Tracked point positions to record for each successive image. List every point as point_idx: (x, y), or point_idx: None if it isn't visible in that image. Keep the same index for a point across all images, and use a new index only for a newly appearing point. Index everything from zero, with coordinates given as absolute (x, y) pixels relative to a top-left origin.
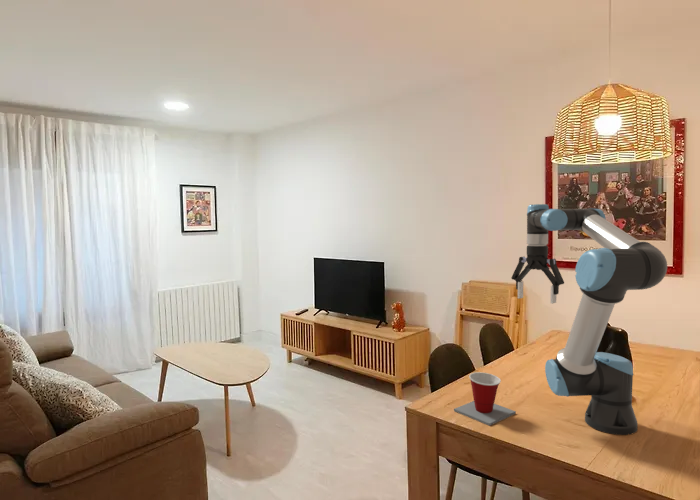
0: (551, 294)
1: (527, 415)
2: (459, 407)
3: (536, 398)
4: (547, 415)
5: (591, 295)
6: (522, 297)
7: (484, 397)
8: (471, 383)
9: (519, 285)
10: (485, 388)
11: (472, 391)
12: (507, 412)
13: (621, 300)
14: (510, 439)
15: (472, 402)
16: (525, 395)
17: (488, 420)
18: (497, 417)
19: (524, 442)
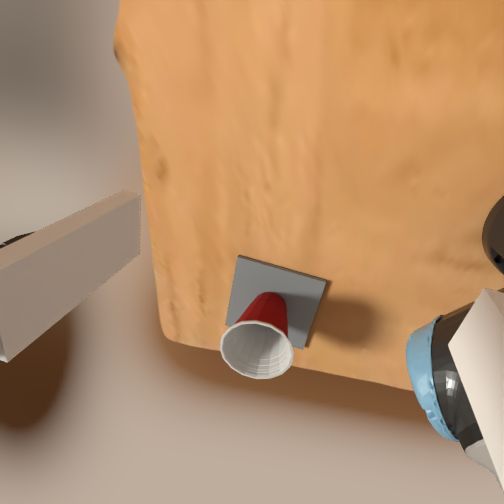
0: (488, 425)
1: (350, 276)
2: (229, 315)
3: (343, 167)
4: (391, 254)
5: None
6: (138, 207)
7: (273, 346)
8: (237, 357)
9: (46, 329)
10: (273, 365)
11: (240, 332)
12: (313, 295)
13: None
14: (351, 373)
15: (236, 284)
16: (312, 164)
17: (296, 340)
18: (305, 323)
19: (374, 373)
